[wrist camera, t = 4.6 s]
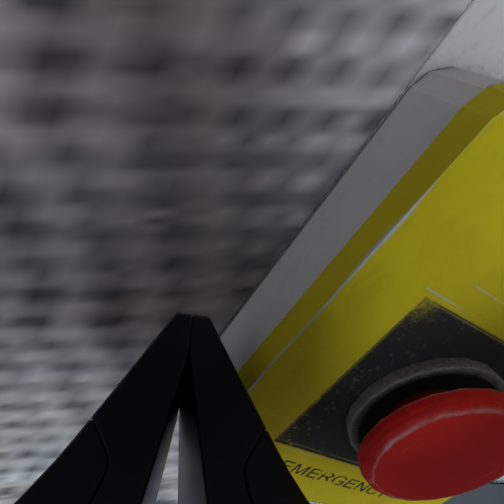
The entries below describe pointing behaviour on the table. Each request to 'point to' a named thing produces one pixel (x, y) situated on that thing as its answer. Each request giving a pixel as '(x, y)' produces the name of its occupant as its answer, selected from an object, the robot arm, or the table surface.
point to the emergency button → (395, 298)
